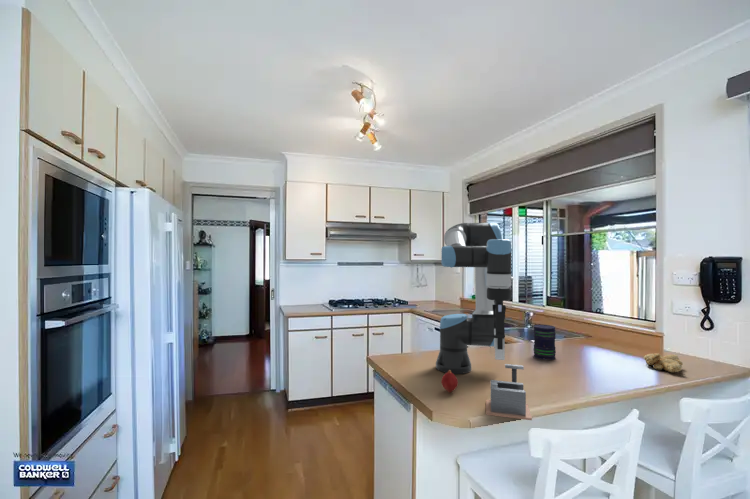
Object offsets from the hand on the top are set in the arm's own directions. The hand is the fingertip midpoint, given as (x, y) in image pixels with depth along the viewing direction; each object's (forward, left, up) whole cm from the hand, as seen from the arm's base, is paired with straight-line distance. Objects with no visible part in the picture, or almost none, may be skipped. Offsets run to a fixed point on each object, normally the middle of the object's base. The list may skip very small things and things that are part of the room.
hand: (499, 353), depth 117 cm
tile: (+3, 0, -18) cm, 18 cm away
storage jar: (+24, +72, -18) cm, 78 cm away
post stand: (+6, +14, -18) cm, 23 cm away
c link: (+3, 0, -17) cm, 17 cm away
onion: (-16, +10, -18) cm, 26 cm away
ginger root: (+71, +67, -18) cm, 99 cm away
